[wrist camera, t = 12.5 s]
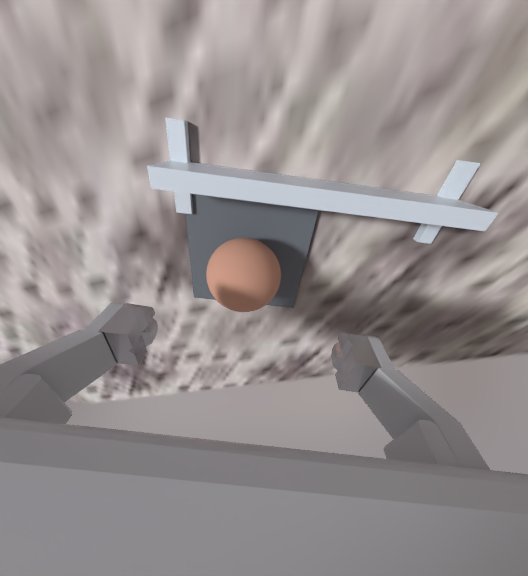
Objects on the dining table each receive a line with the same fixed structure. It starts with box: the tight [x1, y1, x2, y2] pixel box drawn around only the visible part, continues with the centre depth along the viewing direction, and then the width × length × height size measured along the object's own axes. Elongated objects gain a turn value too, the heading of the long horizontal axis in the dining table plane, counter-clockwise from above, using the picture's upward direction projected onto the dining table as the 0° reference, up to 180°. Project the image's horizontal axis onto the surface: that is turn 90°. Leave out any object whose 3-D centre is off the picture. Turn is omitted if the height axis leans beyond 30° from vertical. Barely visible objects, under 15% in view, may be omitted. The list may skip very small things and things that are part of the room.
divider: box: [147, 118, 498, 244], centre depth 12 cm, size 18×5×4 cm, turn 83°
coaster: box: [186, 194, 319, 308], centre depth 17 cm, size 9×9×1 cm
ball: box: [206, 238, 281, 312], centre depth 14 cm, size 5×5×5 cm
